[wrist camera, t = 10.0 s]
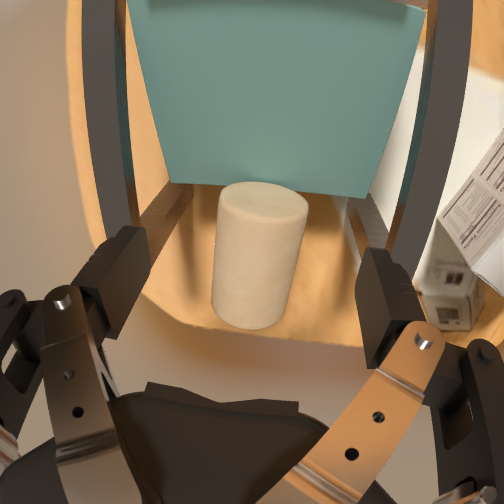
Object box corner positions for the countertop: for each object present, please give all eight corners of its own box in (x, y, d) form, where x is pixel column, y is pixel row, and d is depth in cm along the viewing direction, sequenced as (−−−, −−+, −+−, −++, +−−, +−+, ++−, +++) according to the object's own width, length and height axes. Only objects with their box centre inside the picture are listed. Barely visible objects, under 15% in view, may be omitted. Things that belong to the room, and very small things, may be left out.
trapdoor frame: (169, -17, 19) (86, -51, 9) (395, -3, 18) (472, -33, 7) (173, 195, 31) (117, 279, 21) (366, 212, 30) (400, 306, 19)
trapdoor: (131, -64, 9) (108, -59, 7) (425, -51, 8) (445, -45, 6) (176, 167, 24) (168, 191, 22) (363, 182, 23) (366, 207, 21)
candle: (289, 230, 16) (261, 355, 22) (321, 197, 21) (291, 310, 26) (200, 198, 18) (196, 321, 24) (247, 174, 22) (233, 284, 28)
